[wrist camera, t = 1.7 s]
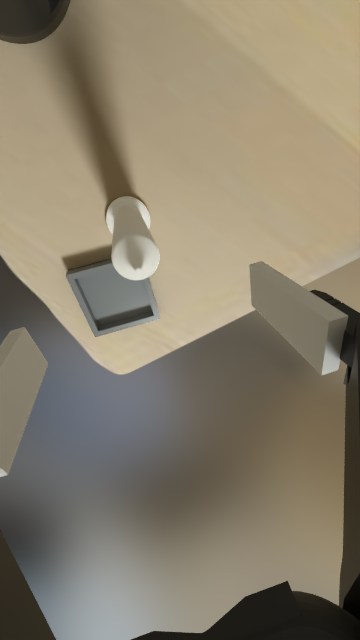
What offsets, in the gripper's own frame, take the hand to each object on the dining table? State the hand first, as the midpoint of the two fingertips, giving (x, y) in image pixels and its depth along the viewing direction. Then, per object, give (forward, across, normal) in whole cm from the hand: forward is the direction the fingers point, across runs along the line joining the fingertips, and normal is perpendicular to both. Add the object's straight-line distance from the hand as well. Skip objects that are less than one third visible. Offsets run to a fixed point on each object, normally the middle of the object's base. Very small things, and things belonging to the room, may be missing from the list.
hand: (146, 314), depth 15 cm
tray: (+32, -6, -12) cm, 35 cm away
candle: (+32, 0, 0) cm, 33 cm away
